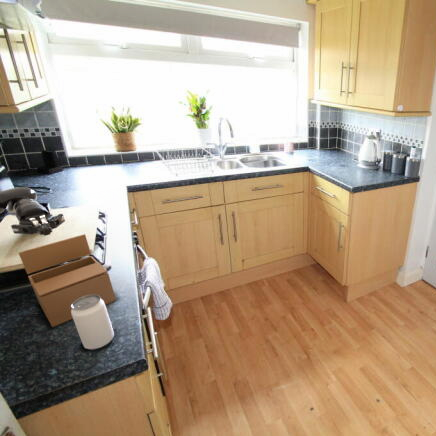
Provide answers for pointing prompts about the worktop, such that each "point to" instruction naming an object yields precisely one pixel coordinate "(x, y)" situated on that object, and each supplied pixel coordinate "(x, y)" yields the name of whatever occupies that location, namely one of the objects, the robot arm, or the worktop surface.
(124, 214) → the worktop surface
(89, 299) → the can
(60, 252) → the flap
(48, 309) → the carton
